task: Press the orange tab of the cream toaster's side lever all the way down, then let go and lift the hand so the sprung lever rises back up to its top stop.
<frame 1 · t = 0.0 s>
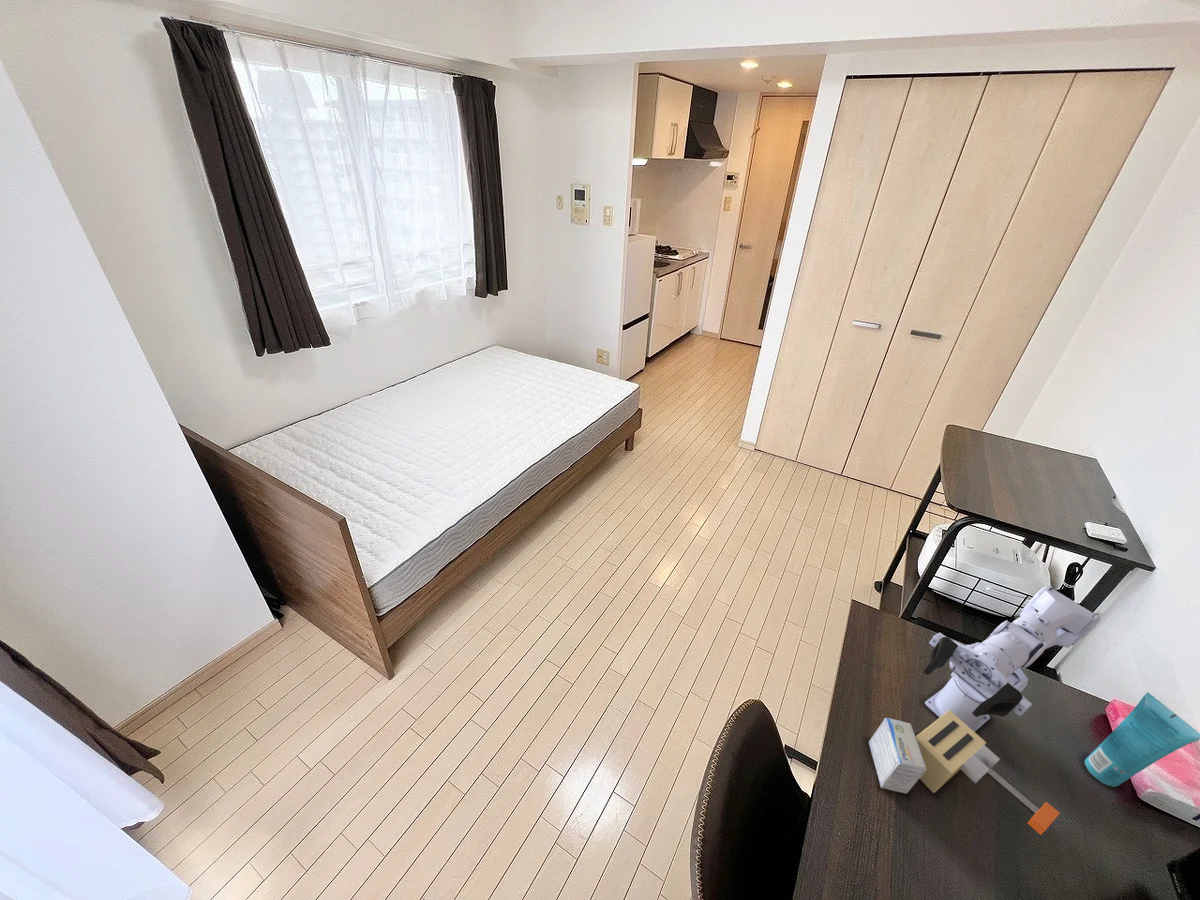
hand: (952, 689, 76), 22 cm above the table, tool horizontal, fingers open, 7 cm apart
medicine box: (885, 768, 86), on the table
lever: (1011, 790, 77), point 8 cm above the table, hinge at 4.7°
toaster: (954, 780, 85), on the table
tube: (1100, 772, 88), on the table
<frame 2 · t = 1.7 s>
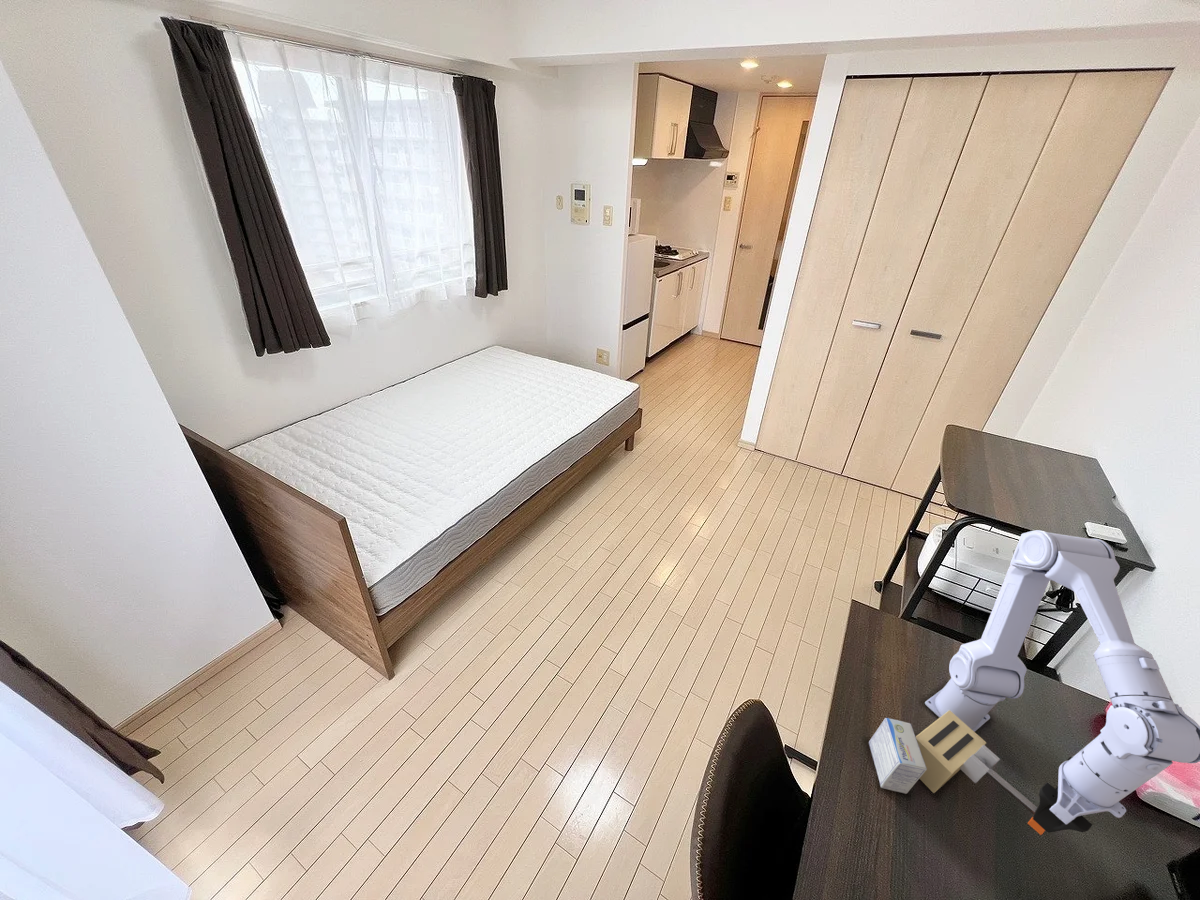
hand: (1051, 812, 72), 10 cm above the table, tool pointing down, fingers open, 6 cm apart
nothing on the table moved.
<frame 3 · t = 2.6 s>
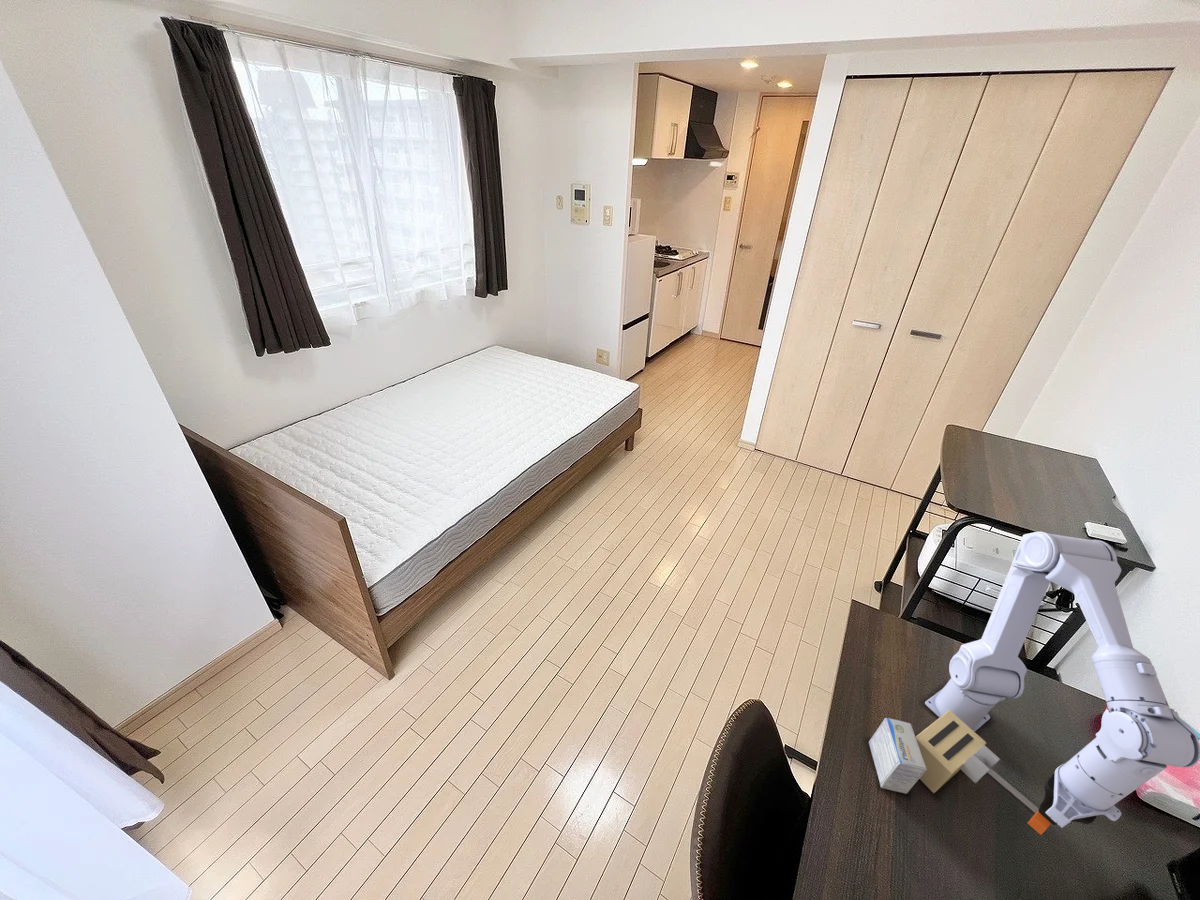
hand: (1047, 815, 73), 9 cm above the table, tool pointing down, fingers closed, pressing on lever
lever: (1011, 790, 77), point 8 cm above the table, hinge at 4.8°, touching gripper
everything else where it was.
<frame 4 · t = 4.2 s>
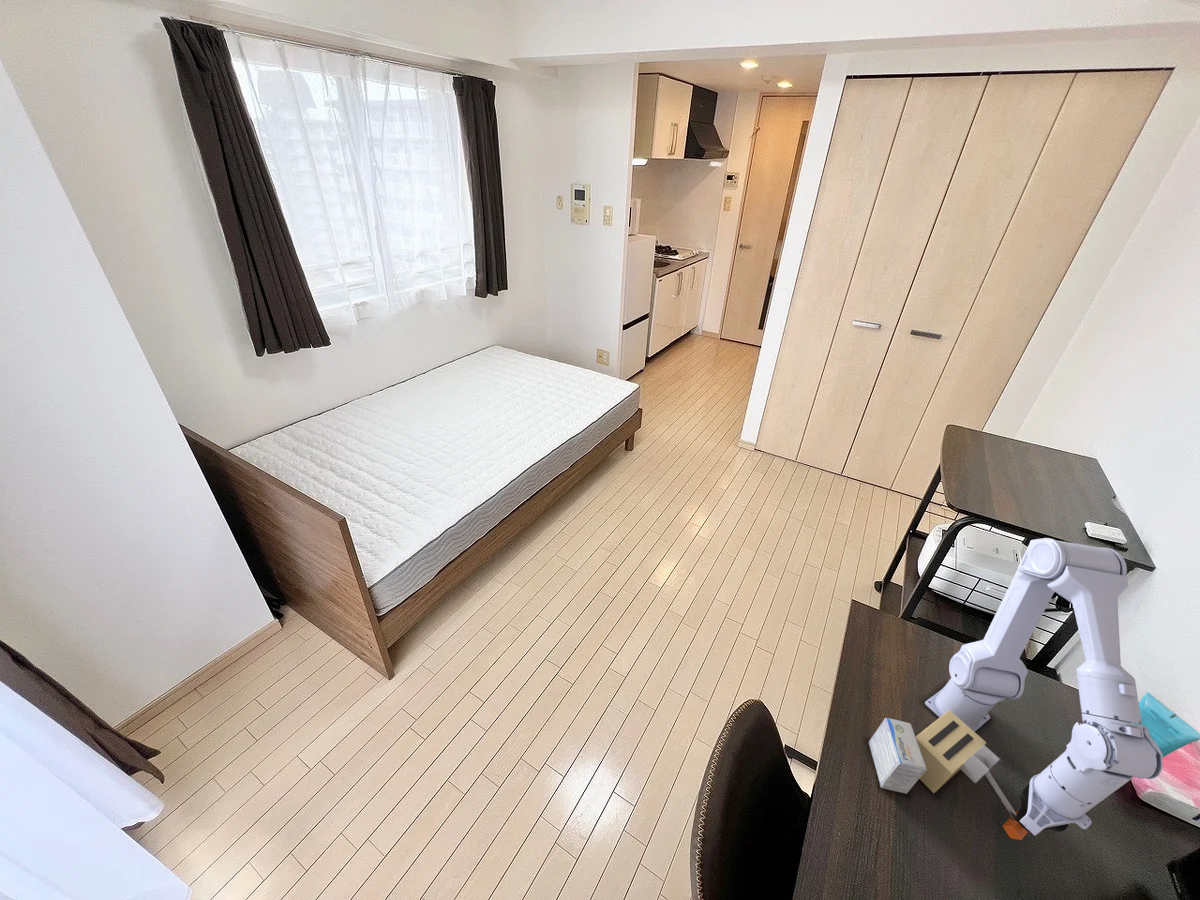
hand: (1023, 823, 76), 4 cm above the table, tool pointing down, fingers closed, pressing on lever
lever: (999, 794, 78), point 5 cm above the table, hinge at -28.2°, touching gripper
everything else where it was.
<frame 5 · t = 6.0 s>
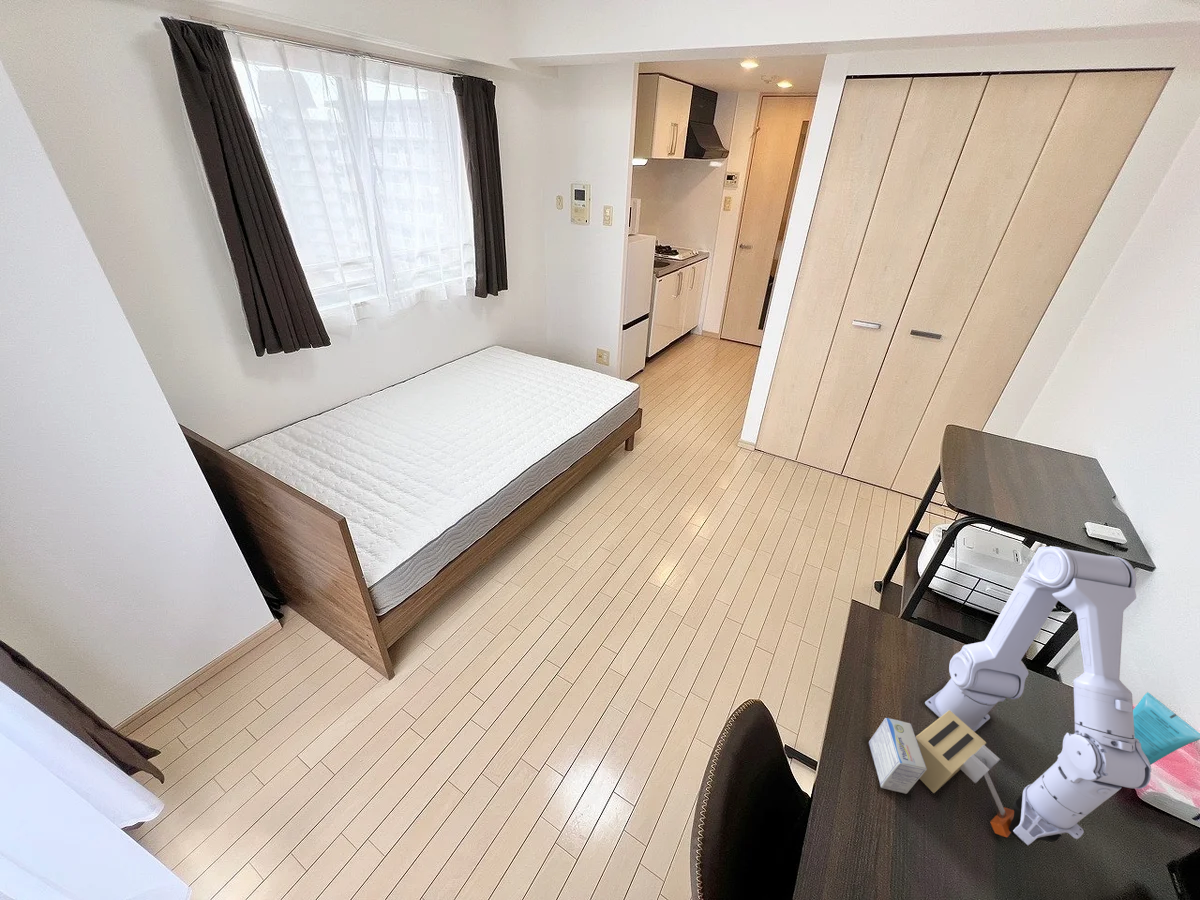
hand: (1017, 833, 77), 2 cm above the table, tool pointing down, fingers closed, pressing on lever
lever: (992, 793, 79), point 4 cm above the table, hinge at -41.0°, touching gripper
everything else where it was.
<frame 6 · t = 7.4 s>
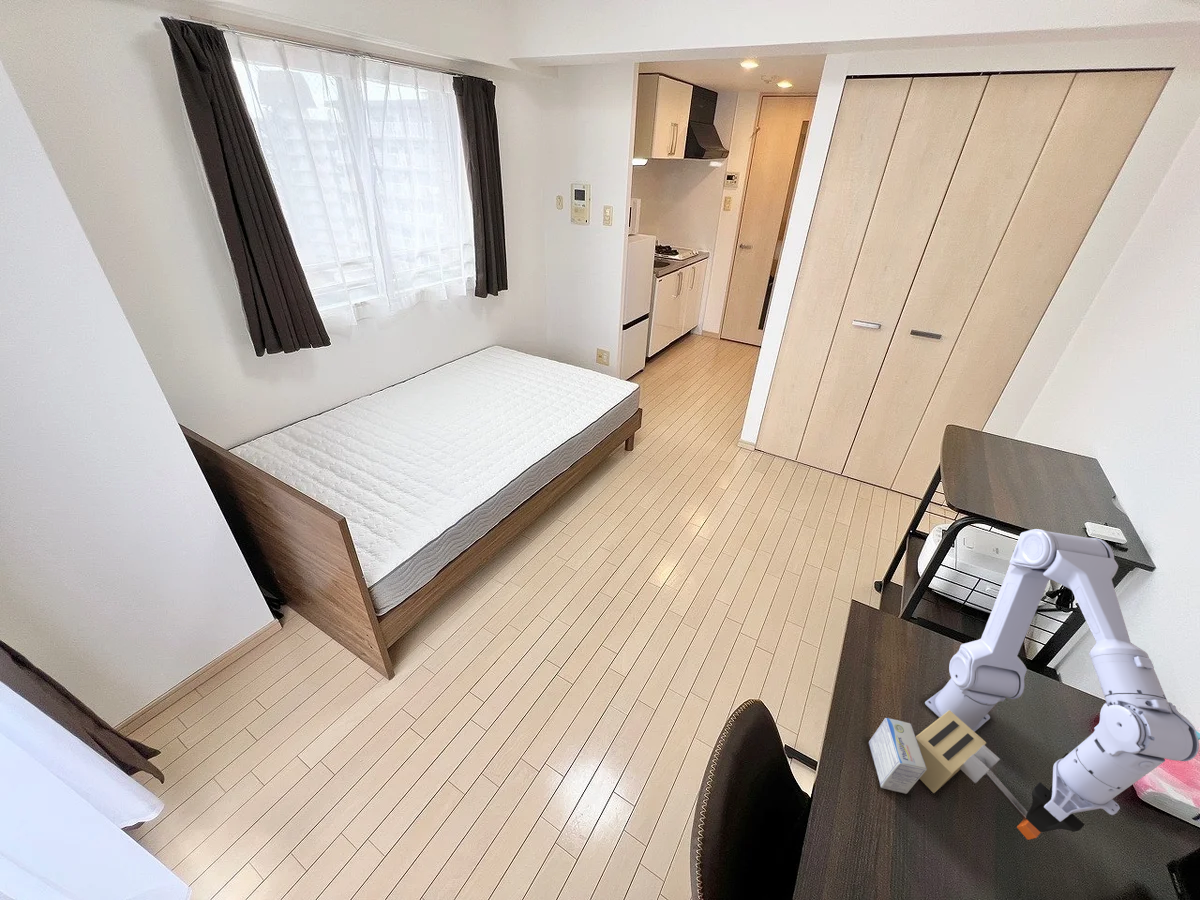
hand: (1046, 810, 73), 10 cm above the table, tool pointing down, fingers open, 7 cm apart
lever: (1006, 794, 77), point 7 cm above the table, hinge at -11.6°
everything else where it was.
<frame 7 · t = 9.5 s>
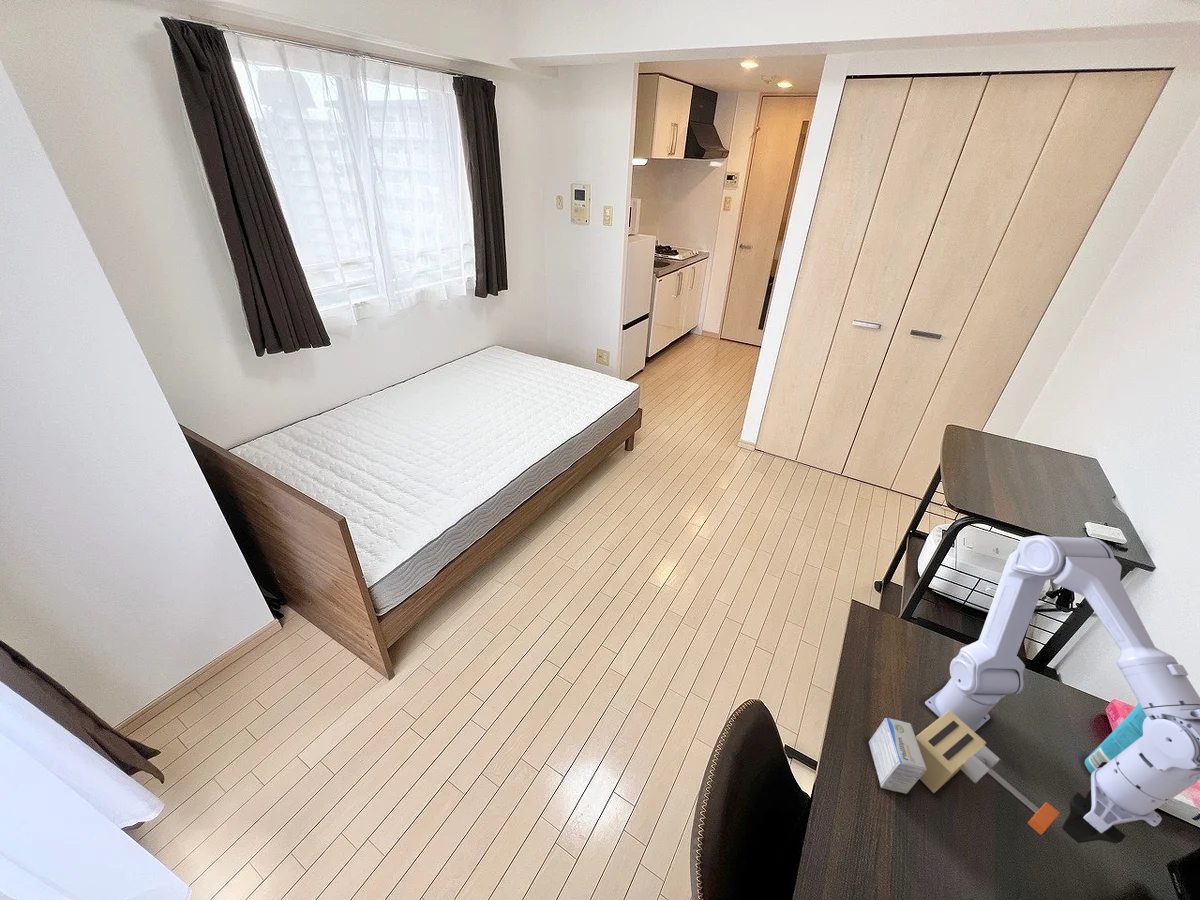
hand: (1082, 820, 72), 10 cm above the table, tool pointing down, fingers open, 7 cm apart
lever: (1011, 790, 77), point 8 cm above the table, hinge at 4.8°
everything else where it was.
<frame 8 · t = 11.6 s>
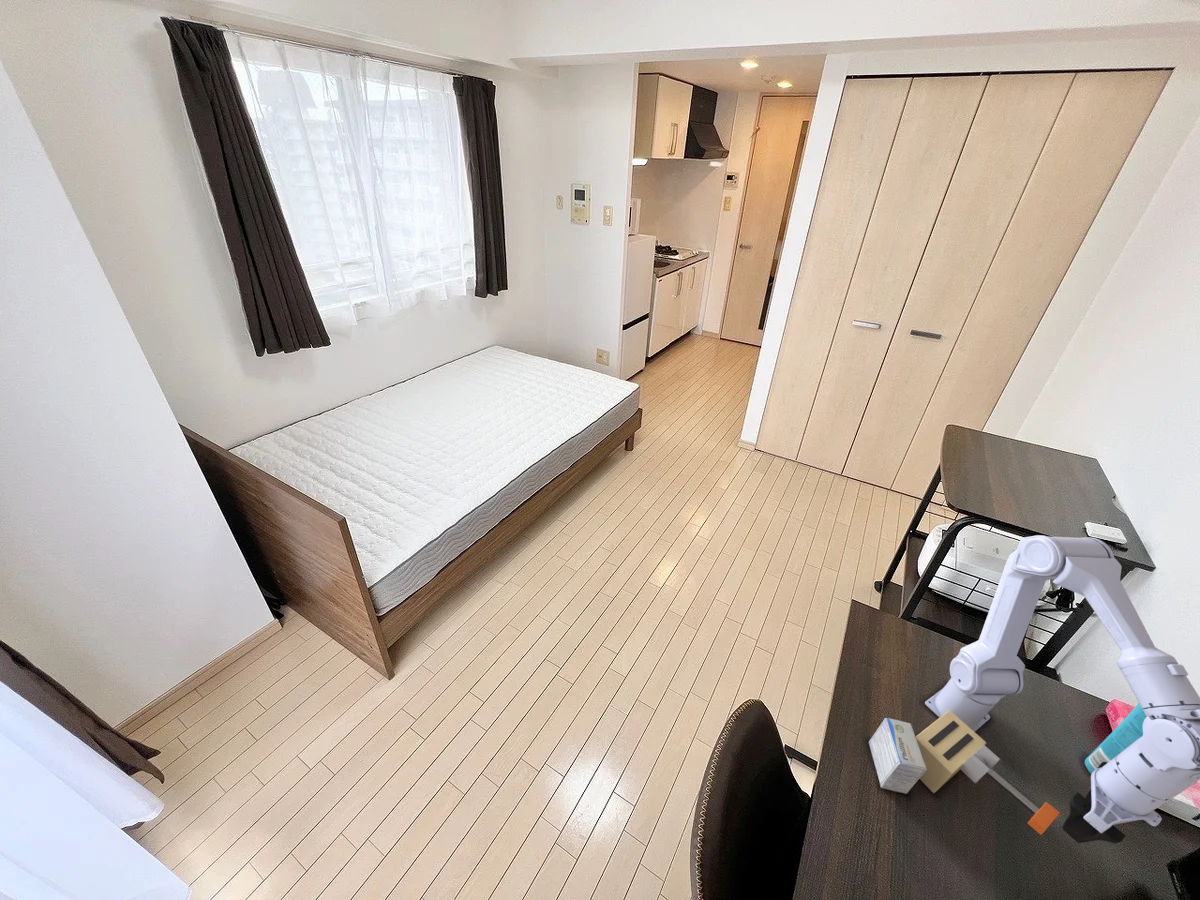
hand: (1082, 820, 72), 10 cm above the table, tool pointing down, fingers open, 7 cm apart
nothing on the table moved.
at the end: lever reached -44° during the clip, +5° at the end; lever at +5° (first picture: +5°) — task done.
